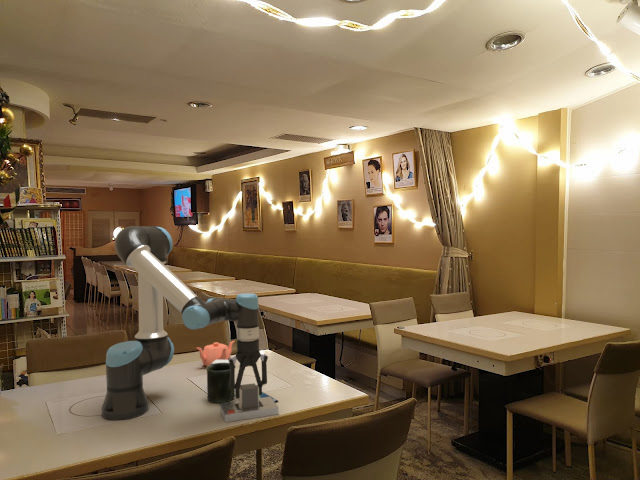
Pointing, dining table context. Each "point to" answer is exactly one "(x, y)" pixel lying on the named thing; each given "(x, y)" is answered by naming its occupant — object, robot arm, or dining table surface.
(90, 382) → the dining table surface
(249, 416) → the socket
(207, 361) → the teapot
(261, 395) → the smartphone
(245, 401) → the plug
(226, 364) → the mug
